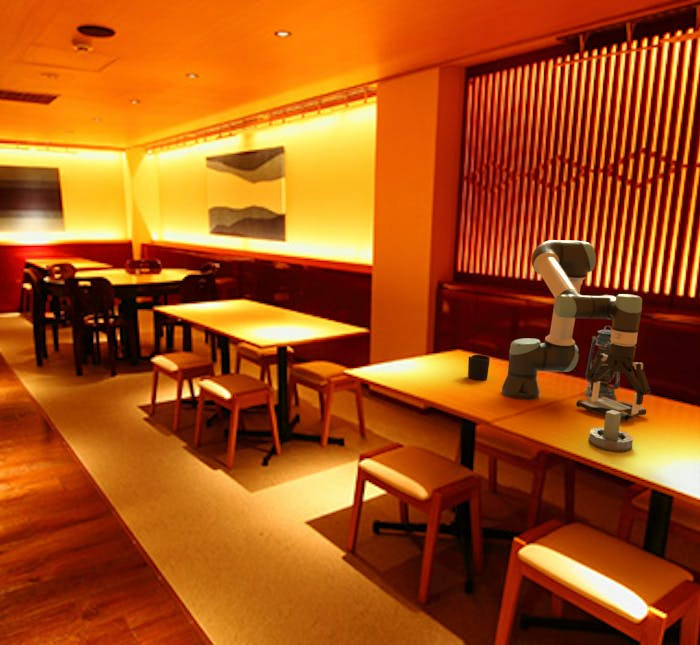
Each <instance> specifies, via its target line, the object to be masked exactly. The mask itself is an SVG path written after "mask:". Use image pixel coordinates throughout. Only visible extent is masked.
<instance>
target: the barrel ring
mask: <svg viewBox="0 0 700 645" xmlns="http://www.w3.org/2000/svg"><path fill="white" fill-rule="evenodd" d="M603 432H604V427H594V428H591V429H590V432H589V437H588V443H589V444H590V445H591V446H593V447H594V448H597V449H599V448H600V450H602V449H603V450H602V451H607V452H613V453H628V452H631V451H632V450H633V441H634V440H633V436H632V435H630V434H629V433H627V432H625V431H622V430H619V435H618V437H619V438H621V439H622V440H613V439H608V438H605V437H602V436H600V435H602V434H603Z"/></svg>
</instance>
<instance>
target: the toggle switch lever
mask: <svg viewBox="0 0 700 645" xmlns="http://www.w3.org/2000/svg"><path fill="white" fill-rule="evenodd" d="M620 419H621V412H618V411H615V410H610V411H607V412H606V415H605V416H604V425H603V428H604V432H603V434H602V435H600V436H602V437H605V438H608V439H613V440H622V439H621V438H619V437H618V435H619V431H620V428H621V426H620V424H621V421H620Z"/></svg>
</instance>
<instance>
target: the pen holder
mask: <svg viewBox="0 0 700 645" xmlns="http://www.w3.org/2000/svg"><path fill="white" fill-rule="evenodd" d="M490 359H491V358H490V356H488V355H484V354H483V355H482V354H473V355H471V356H468V362H467V363H468V364H467V365H468V367H467V368H468V369H467V377H468V379H470V380H473V381H479V382H483V381H486V380H488V377H489V376H488V375H489V368H490Z"/></svg>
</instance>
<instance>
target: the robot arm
mask: <svg viewBox="0 0 700 645" xmlns="http://www.w3.org/2000/svg"><path fill="white" fill-rule="evenodd" d="M596 257H597V256H596V251H595V249H594V247H593V245H592V244H591V243H590V242H587V241H582V240H581V241H580V240H555V239H552V240H551V239H550V240H547V241H543V242H542V243H540V244H539V245H537V247H535V249H534V250H533V252H532V254H531V260H530V262H531V266H532V268H533V270H534V271H535V272H536V273H537V274H538V275H539V276H541V277H542V280H544V282H545V284H546V286H547V287H548V289H549V291H550V292H551V294H552V295H553V297H554V301H553V312H552V318H551V323H550V331H549V334H548V335H546V336H545V339H544V342H541V340H540V339H538V338H530V337H529V338H525V337H524V338H518V339H515V340H513V341H511V343H510V348H509V352H508V353H509V355H508V366H507V375H506V378H505V379H504V382H503V385H502V386H501V394H503V395H504V396H506V397H509V398H511V399H515V400H516V399H517V400H525V401H526V400H528V401H529V400H536V399H539V398H540V394H541V393H540V392H541V391H540V387H539V383H538V382H539V381H538V372H539V371H540V372H553V373H554V372H557V373H563V372H564V373H565V372H571V371H572V370H574V369H575V367H576V366H577V364H578V360H579V356H580V354H579V352H580V351H579V347H578V345H577V344H576V341H575V340H574V339H573V333H574V327H575V323H576V322H575V321H576V319H591V320H593V319H595V320H598V319H599V320H610V321H612V325H611V327H612V332H611V339H610V340H611V343H610V346H609V355H608V356H607V355H606V354H605V353H603V354H599V356H598V360H597V361H596V363H595V364H594V366H593V367H592V366H591V370H590V371H589V373H588V374H587V376H586V375H585V379H586V378H588V379H590V380H591V383H590V384H591V391H592V399H591V401H592V402H595V401H598V395H599V388H600V382H599V381H598V380H599V379H600V378H602V377H603V376H604V375H605V374H607V373H608V372H609V371H610V370H613V371H615V372H616V371H617V372H619V373H620V374H624V375H625V376H626V377H627V379H628V381H629V383H630V384H631V386H632V388H633V389H634V391H635V393H634V394H633V399H632V400H633V401H632V404H633V406H632V413H631V414H633V415H634V414H637V413H638V410H639V406H641V405H642V404H643V403H644V402H643V401H644V396H647V395H650V394H651V392H652V391H651V390H652V389H651V388H650V385H649V382H648V378H647V376H646V373H645V364H644V362H642V361H641V362H635V354H636V348H637V346H636V345H637V344H638V343H637V341H638V333H639V328H640V323H641V322H640V321H641V315H642V310H643V308H642V306H643V298H642V297H641V296H639V295H634V294H629V293H626V294H625V293H621V294H620V293H619V294H618V295H616V296H615V295H611V294H610V295H609V294H603V295H582V294H581V293H580V292H581V286H582V281H584V280H585V279H586V278H587V277H588V273H591V272H592V271H594V269H595V267H596V260H597V259H596ZM606 359H607V361H608V363H609V364H608V365H607V366H606V367H605V368H604V369H603V370H602V371H600V372H599V373H598V374H597V375H595V374H596V372H597V371H598V370H599V368H600V367H601V365H602V364H603V363H604V361H606ZM633 367H634V369H635V371H634V370H633ZM635 373H636V374H637V375H636V374H635ZM594 375H595V376H594Z"/></svg>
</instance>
